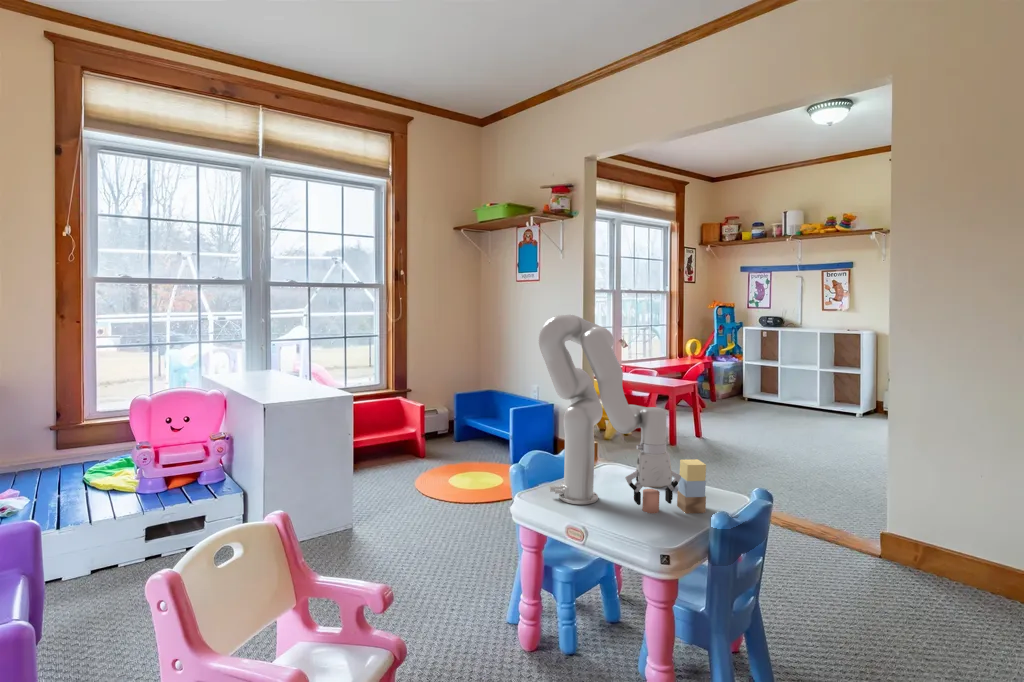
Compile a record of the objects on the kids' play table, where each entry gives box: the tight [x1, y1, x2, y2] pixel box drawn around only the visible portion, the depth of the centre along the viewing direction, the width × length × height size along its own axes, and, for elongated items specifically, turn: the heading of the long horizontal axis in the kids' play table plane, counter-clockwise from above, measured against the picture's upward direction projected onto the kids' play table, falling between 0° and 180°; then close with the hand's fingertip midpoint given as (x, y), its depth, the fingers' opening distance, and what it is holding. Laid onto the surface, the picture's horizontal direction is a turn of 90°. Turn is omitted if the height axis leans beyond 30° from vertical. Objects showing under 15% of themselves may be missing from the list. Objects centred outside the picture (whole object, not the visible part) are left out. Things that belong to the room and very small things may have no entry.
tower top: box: [679, 458, 707, 481], centre depth 182 cm, size 6×6×5 cm
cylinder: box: [641, 488, 661, 514], centre depth 181 cm, size 5×5×6 cm
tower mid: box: [677, 477, 707, 497], centre depth 182 cm, size 6×6×5 cm
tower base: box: [676, 490, 707, 514], centre depth 182 cm, size 6×6×5 cm
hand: (653, 502), depth 181 cm, fingers open, 9 cm apart
